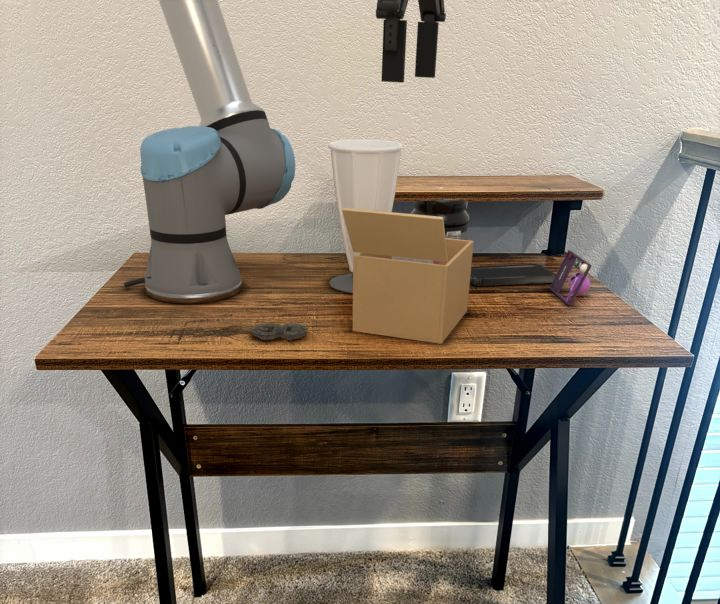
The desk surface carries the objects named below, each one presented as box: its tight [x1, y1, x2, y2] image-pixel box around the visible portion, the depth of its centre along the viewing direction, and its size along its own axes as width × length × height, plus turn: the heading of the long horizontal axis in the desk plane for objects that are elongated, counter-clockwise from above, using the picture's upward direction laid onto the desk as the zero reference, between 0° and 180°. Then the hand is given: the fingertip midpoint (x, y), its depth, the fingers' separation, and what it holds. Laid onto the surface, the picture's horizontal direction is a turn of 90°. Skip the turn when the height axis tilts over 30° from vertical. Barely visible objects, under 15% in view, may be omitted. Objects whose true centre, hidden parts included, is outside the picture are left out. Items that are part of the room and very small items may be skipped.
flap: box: [342, 208, 448, 262], centre depth 92 cm, size 7×13×1 cm
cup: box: [327, 138, 403, 294], centre depth 117 cm, size 12×12×22 cm
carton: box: [352, 238, 475, 345], centre depth 104 cm, size 15×13×10 cm
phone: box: [470, 263, 557, 287], centre depth 126 cm, size 8×1×15 cm
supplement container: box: [410, 199, 470, 240], centre depth 131 cm, size 10×10×12 cm
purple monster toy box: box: [549, 249, 592, 307], centre depth 117 cm, size 7×5×9 cm
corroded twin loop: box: [249, 322, 309, 341], centre depth 100 cm, size 5×8×1 cm, turn 89°
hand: (409, 79), depth 96 cm, fingers open, 13 cm apart
